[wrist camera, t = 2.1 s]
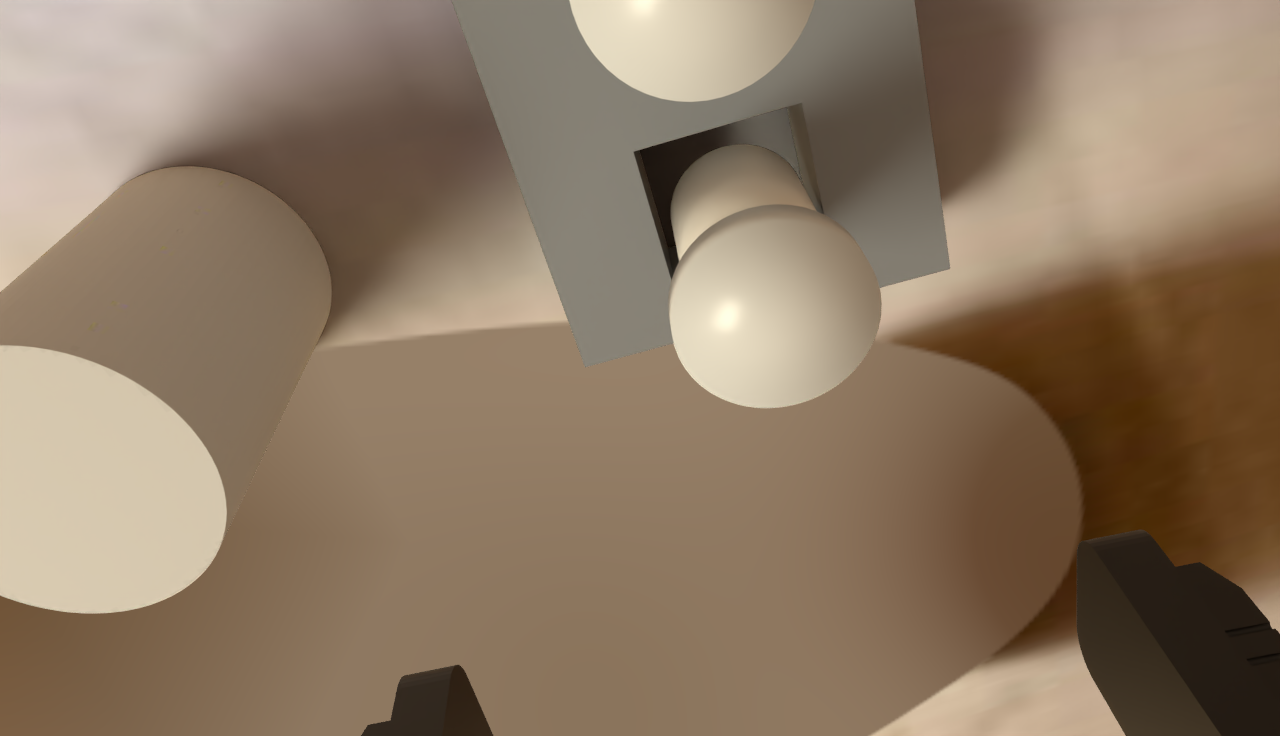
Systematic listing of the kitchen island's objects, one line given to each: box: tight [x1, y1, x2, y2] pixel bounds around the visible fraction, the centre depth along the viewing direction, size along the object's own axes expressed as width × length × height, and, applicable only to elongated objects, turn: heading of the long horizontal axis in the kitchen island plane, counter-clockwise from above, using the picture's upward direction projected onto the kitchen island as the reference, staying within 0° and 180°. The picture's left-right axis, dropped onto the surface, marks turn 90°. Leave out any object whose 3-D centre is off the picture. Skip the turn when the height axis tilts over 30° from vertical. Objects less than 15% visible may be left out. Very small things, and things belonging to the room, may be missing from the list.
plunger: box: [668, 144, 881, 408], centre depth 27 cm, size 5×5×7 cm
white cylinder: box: [0, 166, 332, 613], centre depth 29 cm, size 8×8×12 cm
